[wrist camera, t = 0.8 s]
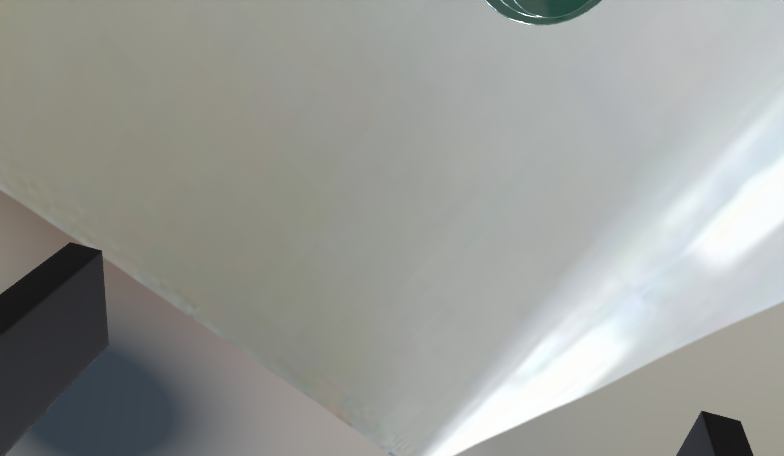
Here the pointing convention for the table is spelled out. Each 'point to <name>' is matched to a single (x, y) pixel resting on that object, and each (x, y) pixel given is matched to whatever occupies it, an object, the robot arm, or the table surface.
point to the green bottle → (542, 10)
